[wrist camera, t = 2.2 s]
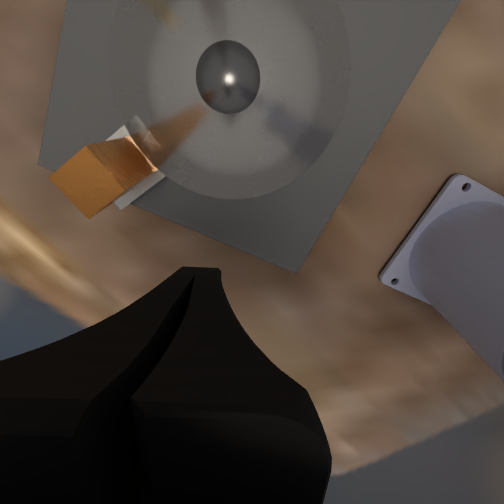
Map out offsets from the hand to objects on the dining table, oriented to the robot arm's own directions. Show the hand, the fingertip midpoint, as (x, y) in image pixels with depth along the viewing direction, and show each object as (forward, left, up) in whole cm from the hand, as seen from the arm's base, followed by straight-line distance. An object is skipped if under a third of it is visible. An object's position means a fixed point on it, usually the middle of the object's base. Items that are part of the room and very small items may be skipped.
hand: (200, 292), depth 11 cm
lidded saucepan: (+3, -5, -8) cm, 10 cm away
